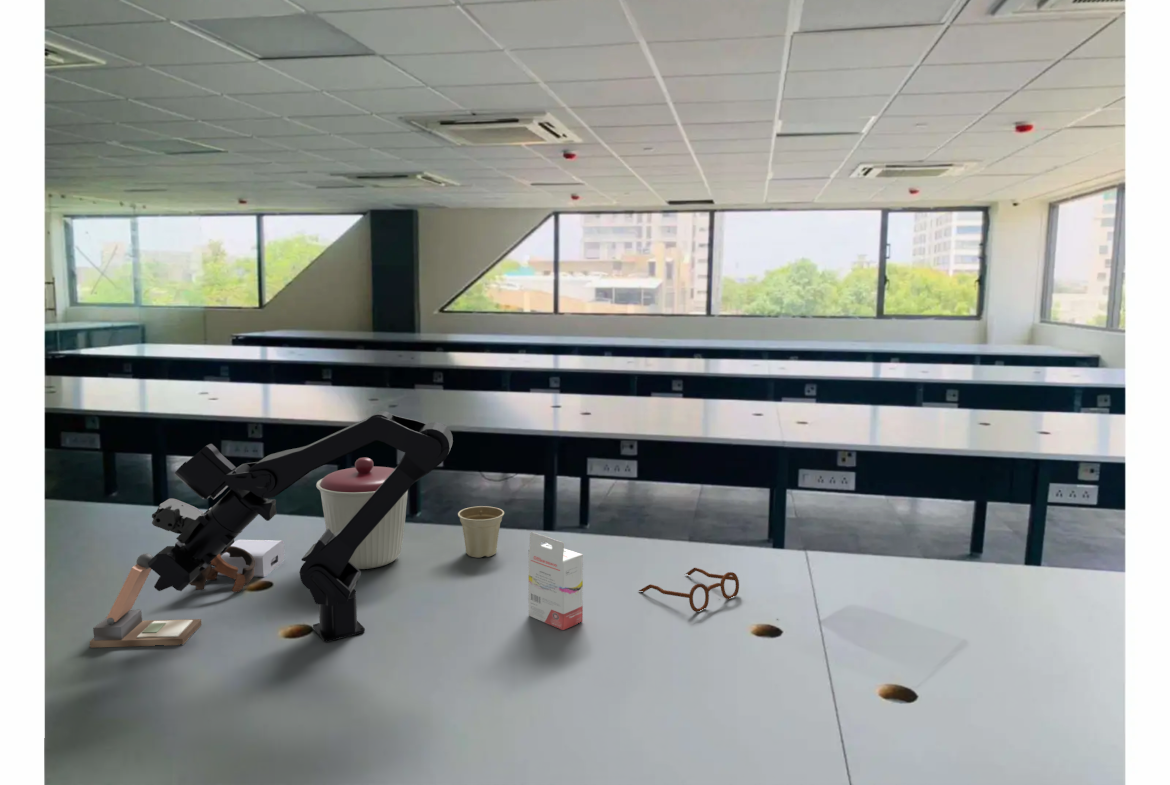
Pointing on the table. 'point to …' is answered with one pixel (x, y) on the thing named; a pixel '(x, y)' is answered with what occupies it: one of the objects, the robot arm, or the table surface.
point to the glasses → (723, 577)
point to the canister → (347, 496)
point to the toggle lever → (130, 589)
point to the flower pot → (481, 529)
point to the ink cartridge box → (555, 583)
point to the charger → (258, 556)
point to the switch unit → (142, 631)
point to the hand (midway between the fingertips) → (157, 588)
